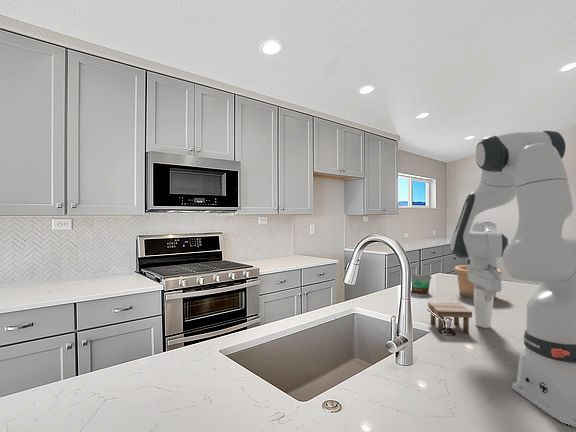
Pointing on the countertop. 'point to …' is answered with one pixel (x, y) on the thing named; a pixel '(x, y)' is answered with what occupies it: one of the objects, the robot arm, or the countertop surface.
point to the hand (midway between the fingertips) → (483, 298)
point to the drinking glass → (482, 308)
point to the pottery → (466, 281)
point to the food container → (420, 284)
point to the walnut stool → (450, 314)
